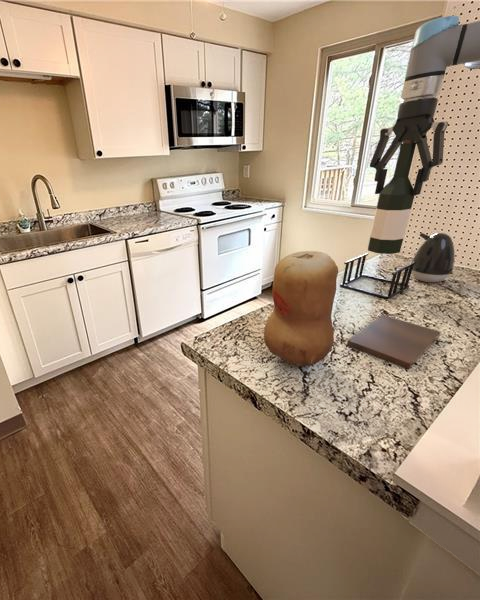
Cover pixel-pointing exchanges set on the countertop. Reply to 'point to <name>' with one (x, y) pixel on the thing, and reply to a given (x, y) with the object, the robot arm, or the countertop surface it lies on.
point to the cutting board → (394, 340)
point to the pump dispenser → (434, 258)
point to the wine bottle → (394, 206)
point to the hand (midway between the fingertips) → (396, 193)
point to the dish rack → (377, 278)
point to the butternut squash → (302, 308)
